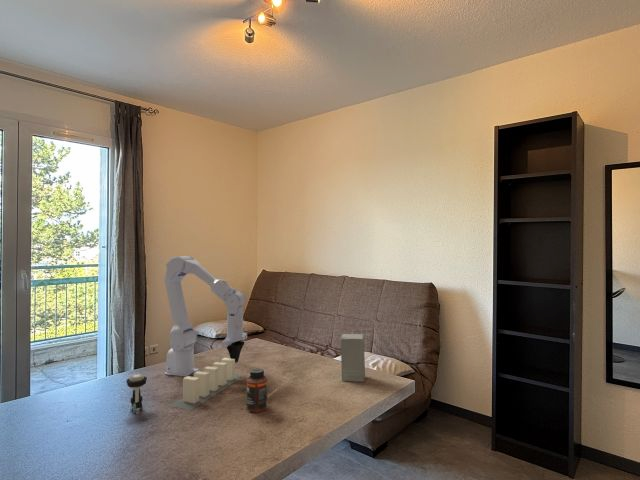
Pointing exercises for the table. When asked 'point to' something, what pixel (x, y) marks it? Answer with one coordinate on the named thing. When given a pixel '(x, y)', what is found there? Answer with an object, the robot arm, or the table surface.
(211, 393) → the mat
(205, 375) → the domino
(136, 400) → the push button
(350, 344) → the skincare box
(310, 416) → the table surface
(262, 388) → the supplement bottle
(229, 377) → the domino
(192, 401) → the domino
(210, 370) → the domino
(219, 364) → the domino
